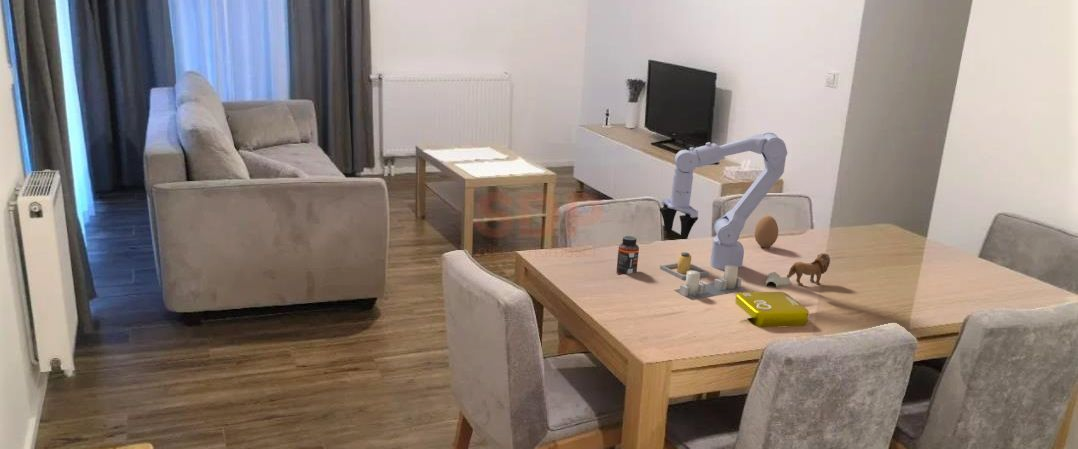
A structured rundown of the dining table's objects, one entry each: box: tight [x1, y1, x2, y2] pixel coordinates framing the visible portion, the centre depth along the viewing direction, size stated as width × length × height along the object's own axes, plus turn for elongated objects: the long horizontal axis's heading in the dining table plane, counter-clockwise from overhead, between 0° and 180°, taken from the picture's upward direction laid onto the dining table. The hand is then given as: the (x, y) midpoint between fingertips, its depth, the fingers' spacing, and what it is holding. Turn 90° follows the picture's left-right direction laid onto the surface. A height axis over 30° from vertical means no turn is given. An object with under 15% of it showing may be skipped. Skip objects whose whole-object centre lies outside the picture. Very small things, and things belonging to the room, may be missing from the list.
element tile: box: [734, 291, 810, 328], centre depth 227 cm, size 15×15×5 cm
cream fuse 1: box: [684, 270, 701, 296], centre depth 235 cm, size 4×4×6 cm
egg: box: [754, 215, 779, 249], centre depth 286 cm, size 8×8×11 cm
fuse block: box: [673, 275, 747, 301], centre depth 239 cm, size 20×8×4 cm, turn 121°
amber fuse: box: [676, 251, 692, 275], centre depth 252 cm, size 4×4×7 cm
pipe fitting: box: [764, 271, 792, 289], centre depth 248 cm, size 8×4×7 cm
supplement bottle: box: [616, 235, 640, 276], centre depth 251 cm, size 6×6×11 cm
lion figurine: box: [786, 252, 831, 287], centre depth 253 cm, size 15×5×9 cm, turn 112°
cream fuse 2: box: [723, 264, 739, 289], centre depth 242 cm, size 4×4×6 cm
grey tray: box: [659, 262, 709, 280], centre depth 253 cm, size 10×10×2 cm
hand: (676, 234), depth 258 cm, fingers open, 7 cm apart
